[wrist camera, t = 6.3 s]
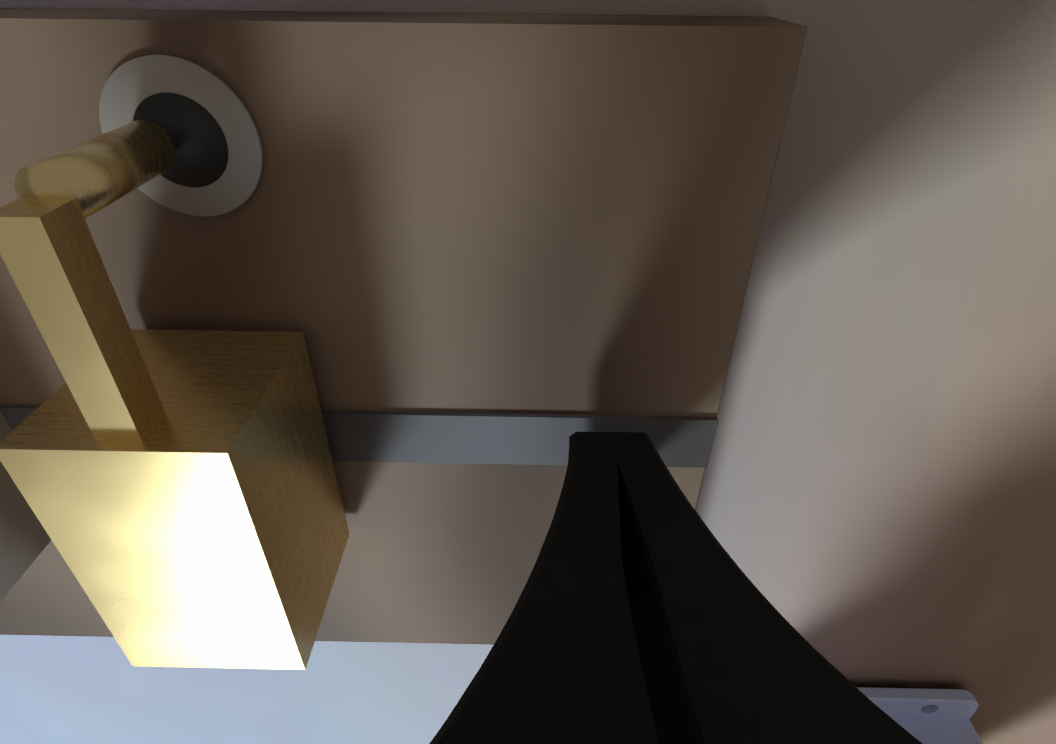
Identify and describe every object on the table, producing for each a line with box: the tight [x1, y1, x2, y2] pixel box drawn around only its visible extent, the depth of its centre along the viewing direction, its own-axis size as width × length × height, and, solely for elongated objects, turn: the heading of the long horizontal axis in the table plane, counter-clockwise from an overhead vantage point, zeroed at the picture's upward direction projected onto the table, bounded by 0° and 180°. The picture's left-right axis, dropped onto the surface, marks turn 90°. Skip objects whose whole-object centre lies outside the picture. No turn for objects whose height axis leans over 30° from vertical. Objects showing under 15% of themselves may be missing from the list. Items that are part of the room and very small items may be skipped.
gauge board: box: [0, 8, 807, 644], centre depth 11 cm, size 18×14×4 cm
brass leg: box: [0, 120, 350, 670], centre depth 10 cm, size 3×8×3 cm, turn 0°
